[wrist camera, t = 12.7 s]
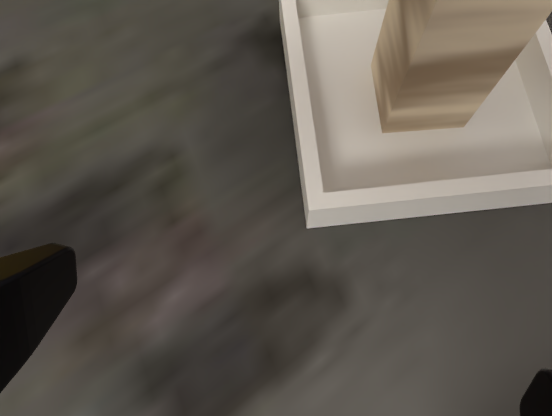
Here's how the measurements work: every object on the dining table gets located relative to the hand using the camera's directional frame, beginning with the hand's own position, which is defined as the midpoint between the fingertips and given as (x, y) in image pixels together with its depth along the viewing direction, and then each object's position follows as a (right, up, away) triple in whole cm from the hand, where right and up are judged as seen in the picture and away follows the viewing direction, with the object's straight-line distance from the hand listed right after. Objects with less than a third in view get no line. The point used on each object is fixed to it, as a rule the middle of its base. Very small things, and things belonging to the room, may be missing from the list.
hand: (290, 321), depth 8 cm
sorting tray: (+8, +8, +17) cm, 20 cm away
